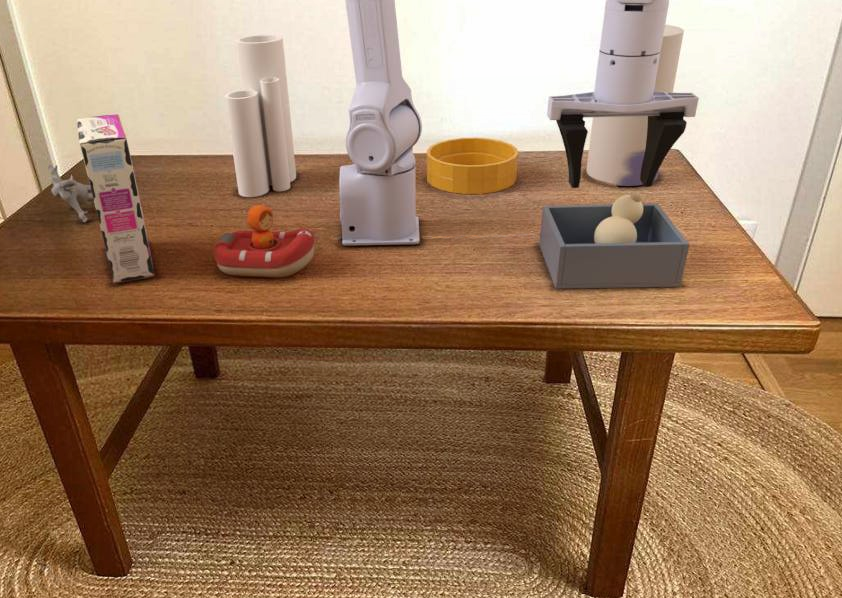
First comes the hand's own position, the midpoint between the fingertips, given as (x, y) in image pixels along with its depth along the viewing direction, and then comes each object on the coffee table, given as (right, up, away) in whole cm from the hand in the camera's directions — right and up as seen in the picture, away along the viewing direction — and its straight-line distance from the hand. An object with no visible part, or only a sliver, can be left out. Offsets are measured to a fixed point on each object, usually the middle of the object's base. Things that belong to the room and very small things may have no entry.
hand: (609, 184), depth 78 cm
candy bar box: (-55, -7, +10) cm, 56 cm away
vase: (-41, +7, +31) cm, 52 cm away
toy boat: (-38, -8, +7) cm, 40 cm away
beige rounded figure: (+1, -7, +4) cm, 8 cm away
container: (+11, +7, +28) cm, 31 cm away
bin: (+1, -8, +4) cm, 9 cm away
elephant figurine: (-67, +2, +25) cm, 72 cm away
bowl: (-11, +7, +28) cm, 31 cm away
